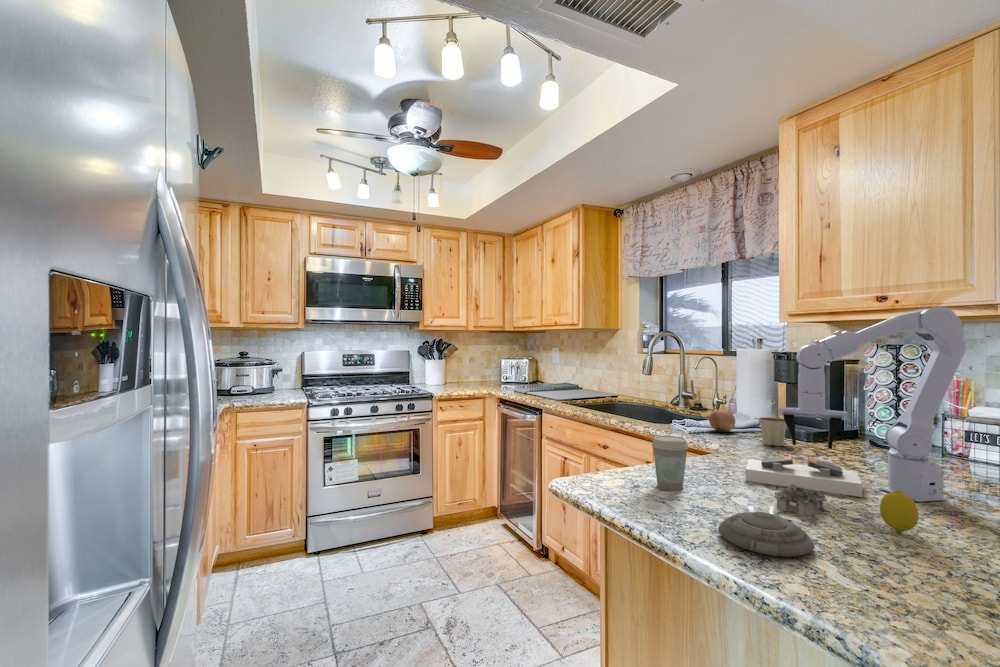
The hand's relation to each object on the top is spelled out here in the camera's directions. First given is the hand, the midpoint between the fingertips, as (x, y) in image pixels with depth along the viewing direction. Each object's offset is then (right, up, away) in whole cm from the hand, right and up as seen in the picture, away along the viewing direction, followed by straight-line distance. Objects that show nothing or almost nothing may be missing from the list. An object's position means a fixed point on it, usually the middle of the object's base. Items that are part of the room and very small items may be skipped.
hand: (811, 446), depth 120 cm
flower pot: (+16, -10, +44) cm, 48 cm away
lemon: (-4, -9, -30) cm, 32 cm away
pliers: (+14, -10, +15) cm, 23 cm away
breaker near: (+2, -5, -1) cm, 6 cm away
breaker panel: (-2, -9, +1) cm, 10 cm away
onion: (+8, -10, +66) cm, 68 cm away
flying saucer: (-31, -10, -34) cm, 47 cm away
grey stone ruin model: (-14, -10, -17) cm, 24 cm away
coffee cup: (-37, -10, -3) cm, 38 cm away
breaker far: (-6, -6, +4) cm, 9 cm away
